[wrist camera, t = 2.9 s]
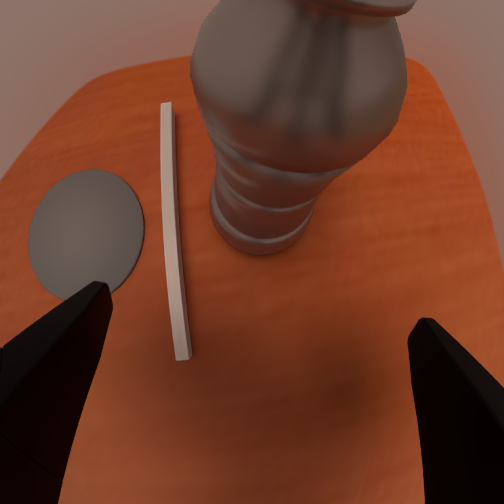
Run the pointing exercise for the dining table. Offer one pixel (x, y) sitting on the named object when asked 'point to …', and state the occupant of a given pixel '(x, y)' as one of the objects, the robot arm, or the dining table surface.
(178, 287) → the frosted wall
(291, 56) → the plastic bottle
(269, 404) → the dining table surface
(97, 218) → the slate mat
